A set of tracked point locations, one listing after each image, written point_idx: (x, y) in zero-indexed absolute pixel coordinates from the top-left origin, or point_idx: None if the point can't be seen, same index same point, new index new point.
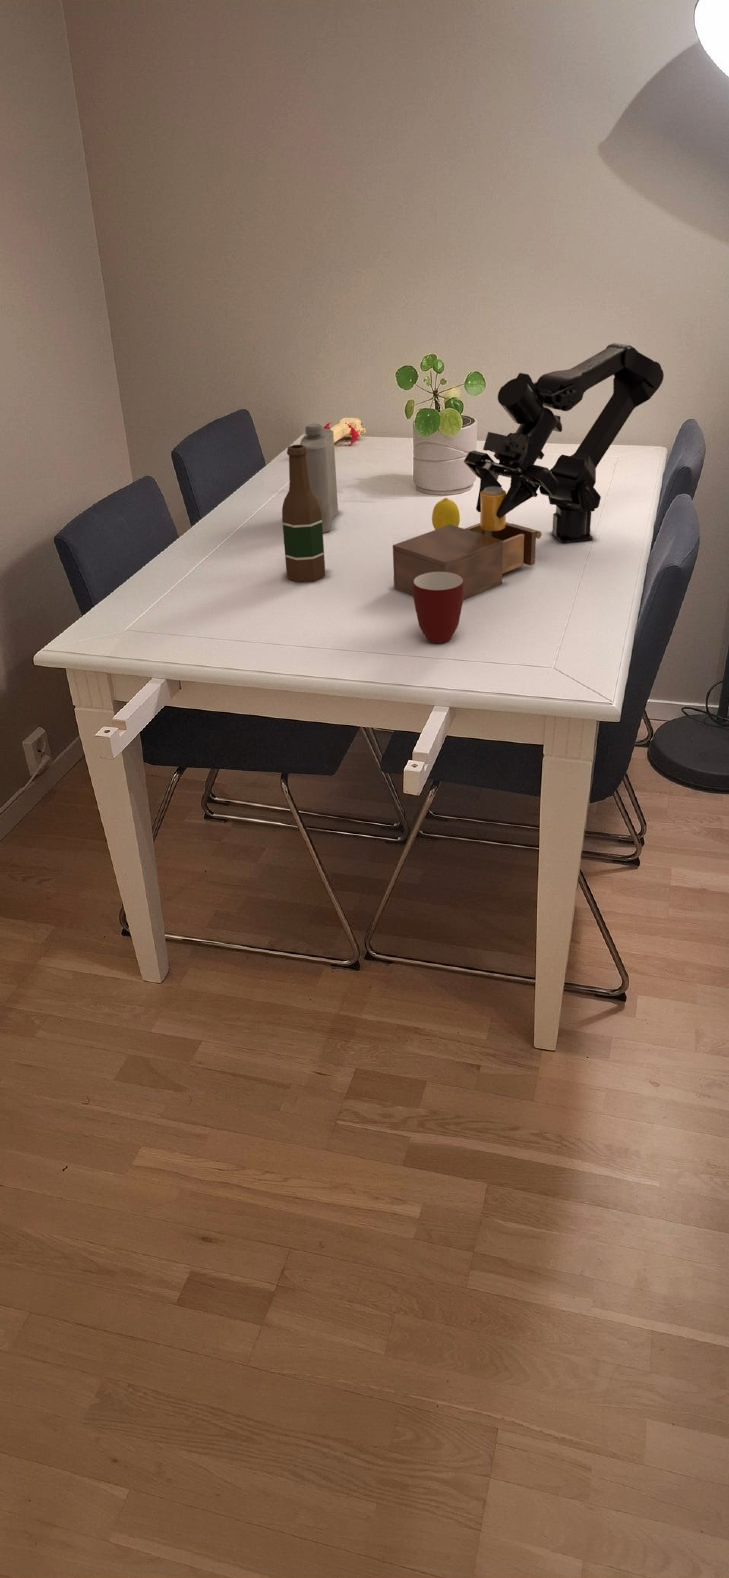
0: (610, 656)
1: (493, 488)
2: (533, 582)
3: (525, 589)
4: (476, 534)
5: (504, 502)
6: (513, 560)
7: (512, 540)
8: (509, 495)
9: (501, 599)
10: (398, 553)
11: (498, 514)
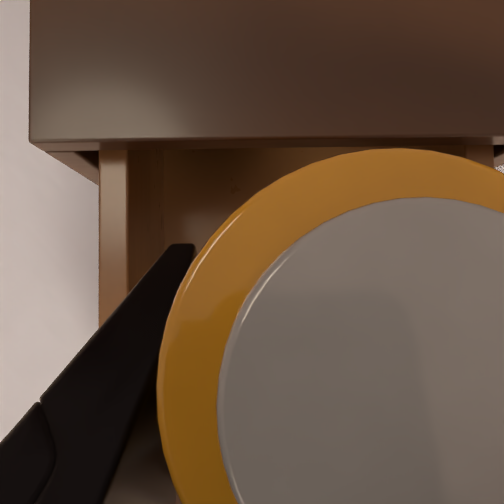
0: None
1: (465, 446)
2: (38, 309)
3: (12, 227)
4: (265, 102)
5: (112, 343)
6: None
7: (99, 303)
8: (21, 452)
9: (15, 81)
10: None
11: (167, 252)
